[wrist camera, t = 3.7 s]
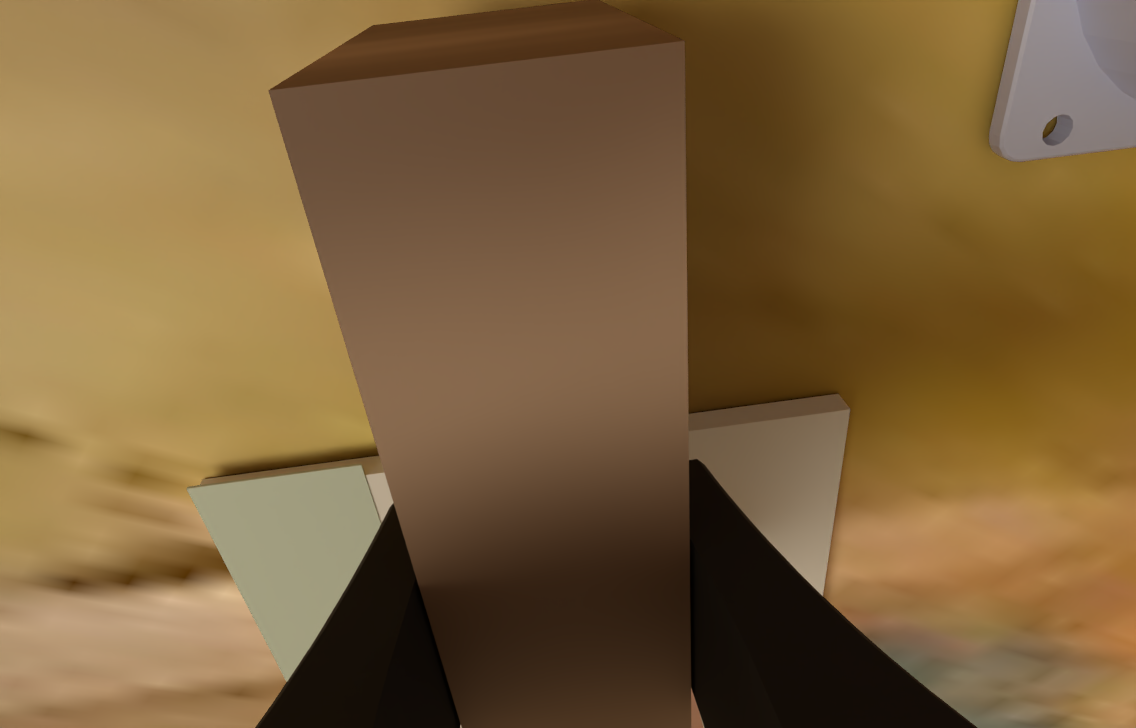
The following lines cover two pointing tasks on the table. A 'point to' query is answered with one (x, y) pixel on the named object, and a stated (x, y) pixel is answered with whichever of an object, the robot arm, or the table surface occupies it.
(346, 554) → the board
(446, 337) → the bar
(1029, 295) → the table surface
